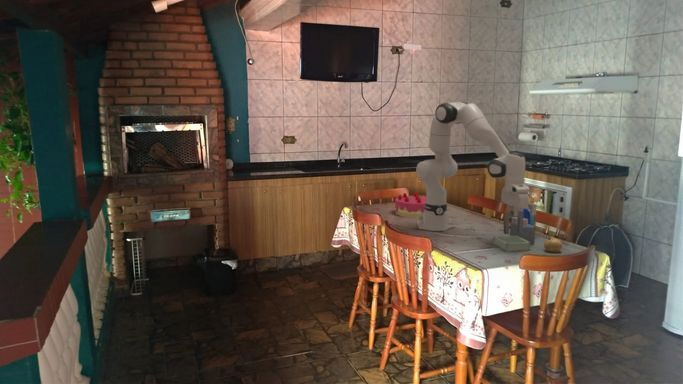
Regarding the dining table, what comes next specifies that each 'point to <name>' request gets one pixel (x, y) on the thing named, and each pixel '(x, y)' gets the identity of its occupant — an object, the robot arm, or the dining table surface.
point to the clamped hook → (531, 208)
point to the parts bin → (511, 243)
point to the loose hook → (510, 215)
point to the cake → (410, 205)
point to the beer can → (529, 216)
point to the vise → (527, 230)
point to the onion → (553, 245)
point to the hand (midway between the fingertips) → (513, 215)
